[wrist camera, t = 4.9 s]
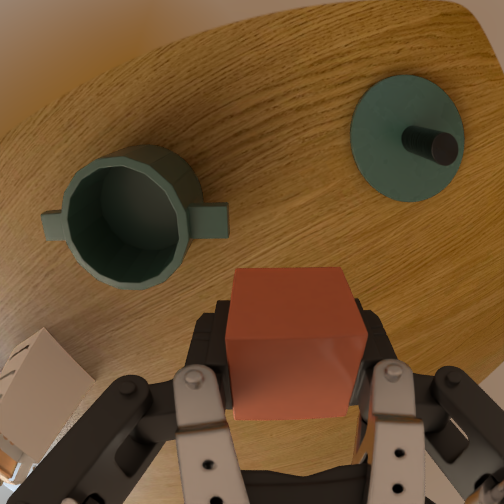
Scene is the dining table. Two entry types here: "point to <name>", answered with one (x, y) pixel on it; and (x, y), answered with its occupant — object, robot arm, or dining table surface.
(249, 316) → the block
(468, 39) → the dining table surface
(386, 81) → the lid
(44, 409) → the grater
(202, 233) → the pot
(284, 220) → the dining table surface
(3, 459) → the planter
